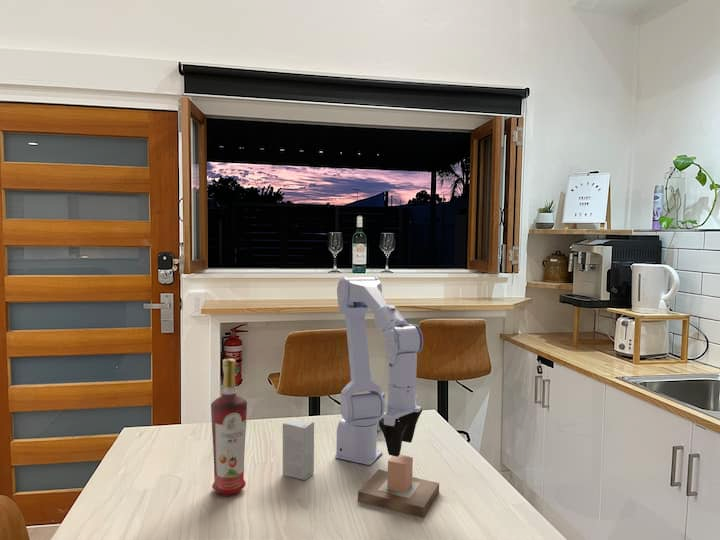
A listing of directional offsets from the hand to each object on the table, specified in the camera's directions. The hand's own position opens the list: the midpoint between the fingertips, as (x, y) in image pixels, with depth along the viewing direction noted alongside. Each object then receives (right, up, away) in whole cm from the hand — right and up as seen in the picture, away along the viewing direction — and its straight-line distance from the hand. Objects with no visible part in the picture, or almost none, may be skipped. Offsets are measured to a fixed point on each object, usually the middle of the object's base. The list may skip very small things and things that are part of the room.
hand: (400, 448), depth 108 cm
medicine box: (-4, -8, +40) cm, 41 cm away
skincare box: (-22, -10, +10) cm, 26 cm away
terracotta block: (0, -8, +1) cm, 8 cm away
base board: (0, -10, +1) cm, 10 cm away
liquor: (-36, -10, +2) cm, 37 cm away
